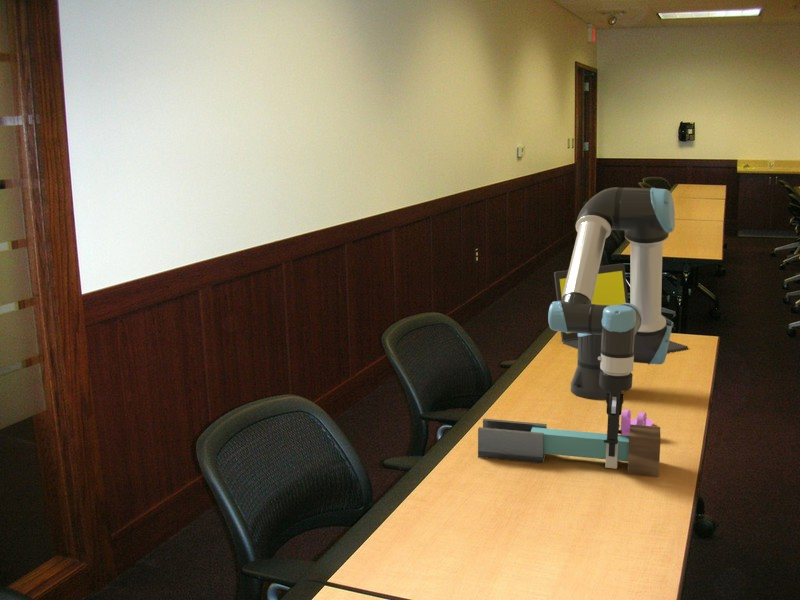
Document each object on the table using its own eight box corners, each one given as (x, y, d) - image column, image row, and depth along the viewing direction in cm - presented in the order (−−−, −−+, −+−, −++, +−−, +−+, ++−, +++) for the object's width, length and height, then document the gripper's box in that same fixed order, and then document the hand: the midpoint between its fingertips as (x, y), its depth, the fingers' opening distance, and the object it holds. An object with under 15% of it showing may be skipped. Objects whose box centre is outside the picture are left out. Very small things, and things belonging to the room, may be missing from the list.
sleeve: (483, 446, 214) (483, 418, 212) (546, 452, 209) (546, 424, 208) (477, 457, 207) (478, 428, 205) (542, 463, 202) (543, 434, 201)
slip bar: (532, 445, 208) (532, 427, 207) (639, 456, 201) (640, 436, 200) (529, 452, 205) (530, 433, 203) (639, 462, 197) (640, 443, 196)
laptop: (616, 364, 282) (619, 288, 276) (552, 340, 312) (553, 271, 306) (688, 350, 297) (692, 278, 291) (620, 329, 327) (623, 263, 321)
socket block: (628, 458, 204) (630, 424, 202) (658, 461, 202) (660, 426, 200) (627, 473, 196) (629, 438, 194) (658, 477, 194) (660, 440, 192)
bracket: (641, 440, 216) (642, 415, 214) (620, 436, 219) (621, 411, 217) (655, 424, 227) (656, 400, 225) (635, 421, 230) (636, 397, 228)
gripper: (602, 359, 205) (597, 448, 210) (597, 381, 189) (593, 476, 194) (633, 362, 203) (628, 451, 208) (631, 383, 187) (626, 480, 192)
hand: (611, 463), depth 201 cm, fingers closed on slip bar, 4 cm apart
